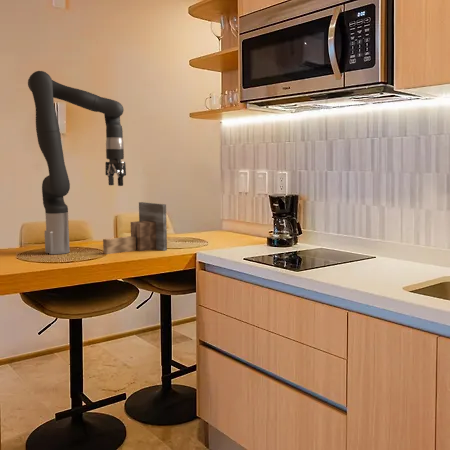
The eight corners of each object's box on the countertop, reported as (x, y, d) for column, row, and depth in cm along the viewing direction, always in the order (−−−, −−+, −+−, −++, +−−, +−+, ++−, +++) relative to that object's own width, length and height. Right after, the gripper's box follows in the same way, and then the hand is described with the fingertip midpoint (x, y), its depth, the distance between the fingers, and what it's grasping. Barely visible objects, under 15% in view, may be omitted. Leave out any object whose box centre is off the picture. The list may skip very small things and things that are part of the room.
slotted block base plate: (148, 252, 229) (146, 205, 226) (124, 247, 244) (123, 203, 242) (166, 250, 235) (166, 204, 232) (142, 245, 250) (141, 202, 248)
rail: (106, 254, 226) (106, 239, 225) (103, 253, 228) (103, 239, 227) (143, 249, 237) (143, 236, 237) (140, 248, 240) (140, 235, 239)
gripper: (99, 148, 239) (100, 185, 240) (114, 147, 228) (115, 186, 230) (114, 148, 243) (115, 185, 245) (130, 148, 232) (131, 185, 234)
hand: (115, 185), depth 237 cm, fingers open, 8 cm apart
